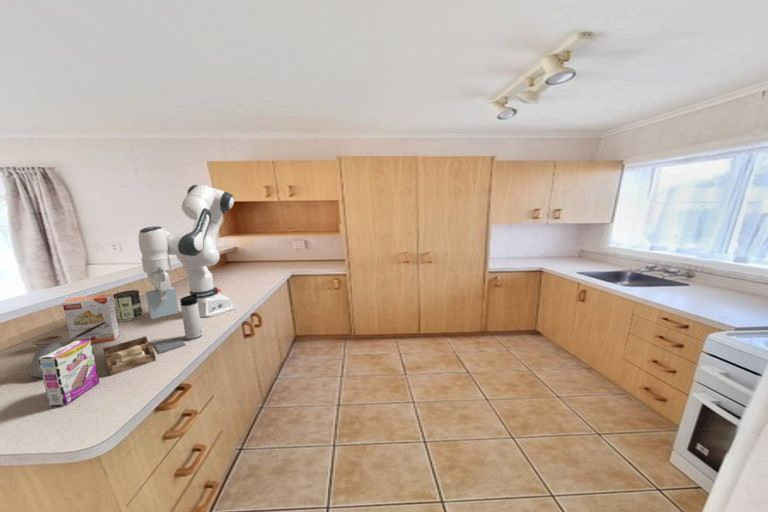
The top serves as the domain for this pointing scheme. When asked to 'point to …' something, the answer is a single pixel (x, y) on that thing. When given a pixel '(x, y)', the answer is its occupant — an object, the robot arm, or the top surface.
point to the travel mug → (191, 317)
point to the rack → (114, 369)
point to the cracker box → (91, 318)
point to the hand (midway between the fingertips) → (162, 297)
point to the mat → (169, 345)
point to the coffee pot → (50, 349)
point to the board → (162, 303)
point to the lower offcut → (129, 359)
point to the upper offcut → (129, 353)
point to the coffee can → (128, 305)
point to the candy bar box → (69, 372)
